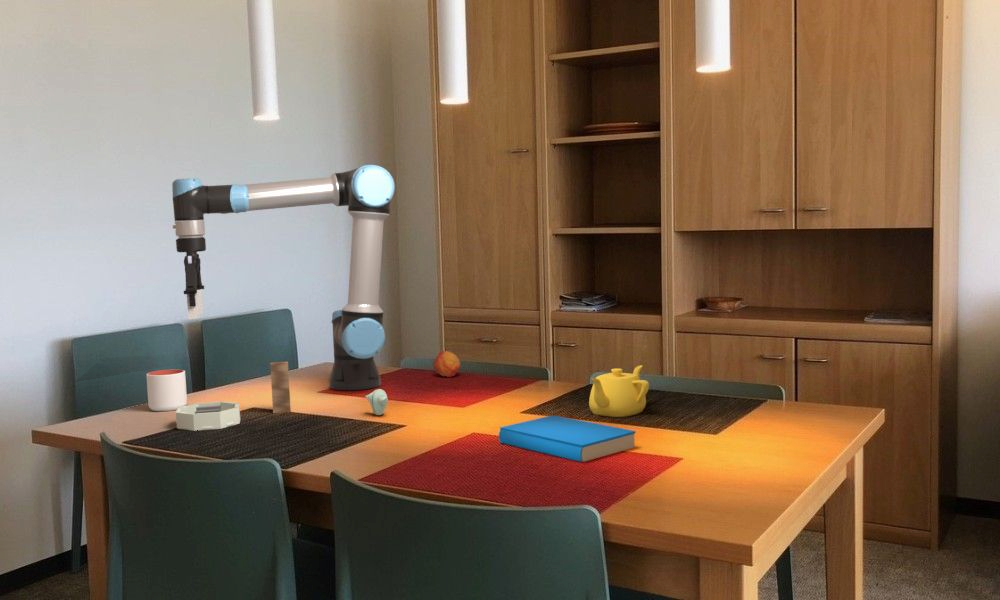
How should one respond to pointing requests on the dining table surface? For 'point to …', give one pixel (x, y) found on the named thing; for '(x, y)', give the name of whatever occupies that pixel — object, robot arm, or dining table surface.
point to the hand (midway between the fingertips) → (196, 316)
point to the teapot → (618, 393)
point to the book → (567, 438)
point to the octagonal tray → (208, 416)
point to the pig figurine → (378, 401)
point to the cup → (166, 390)
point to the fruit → (447, 364)
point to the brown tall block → (280, 387)
